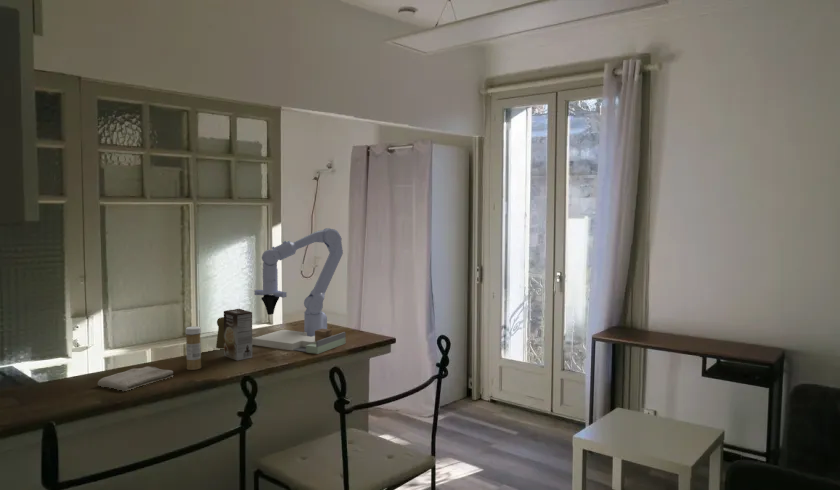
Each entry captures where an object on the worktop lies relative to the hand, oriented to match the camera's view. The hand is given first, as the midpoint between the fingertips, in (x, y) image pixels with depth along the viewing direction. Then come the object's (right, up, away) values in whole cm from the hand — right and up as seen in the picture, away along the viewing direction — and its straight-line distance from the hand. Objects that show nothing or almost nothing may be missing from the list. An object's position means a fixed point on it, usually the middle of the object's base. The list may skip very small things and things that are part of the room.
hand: (270, 314), depth 238 cm
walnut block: (+24, -8, -16) cm, 29 cm away
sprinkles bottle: (-13, -13, -45) cm, 49 cm away
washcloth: (-25, -14, -59) cm, 66 cm away
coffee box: (-4, -12, -30) cm, 32 cm away
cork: (-13, -11, -15) cm, 23 cm away
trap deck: (+14, -10, -10) cm, 20 cm away
